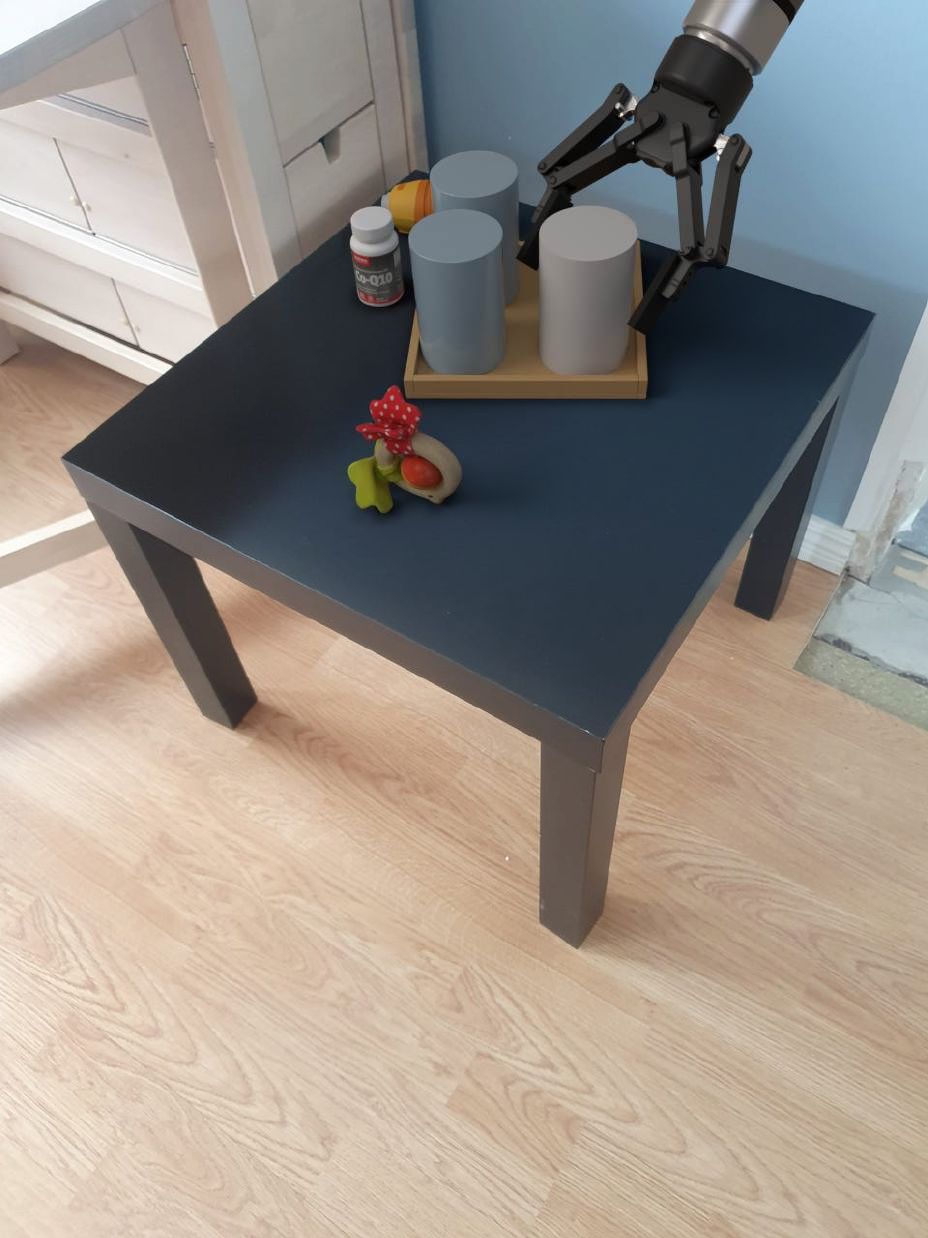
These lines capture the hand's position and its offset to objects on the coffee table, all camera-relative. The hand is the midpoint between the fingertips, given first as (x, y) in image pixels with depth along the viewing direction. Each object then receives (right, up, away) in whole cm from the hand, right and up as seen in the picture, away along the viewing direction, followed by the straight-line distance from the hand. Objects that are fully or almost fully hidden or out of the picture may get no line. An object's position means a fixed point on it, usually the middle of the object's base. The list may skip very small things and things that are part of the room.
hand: (579, 296), depth 87 cm
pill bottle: (-18, +4, +14) cm, 23 cm away
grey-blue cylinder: (-8, +5, +12) cm, 16 cm away
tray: (-4, 0, +9) cm, 10 cm away
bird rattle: (-14, -18, -4) cm, 23 cm away
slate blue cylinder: (-10, -3, +6) cm, 12 cm away
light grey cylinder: (+1, -3, +5) cm, 7 cm away
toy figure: (-13, +13, +20) cm, 27 cm away
